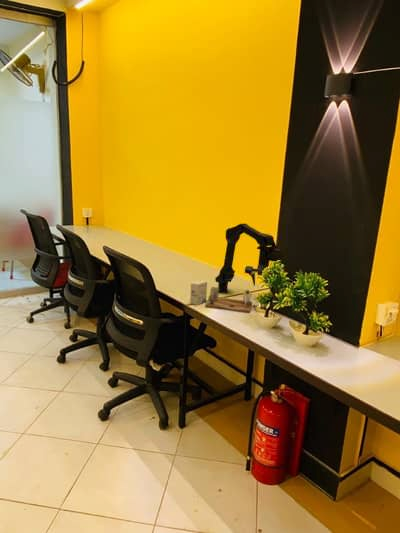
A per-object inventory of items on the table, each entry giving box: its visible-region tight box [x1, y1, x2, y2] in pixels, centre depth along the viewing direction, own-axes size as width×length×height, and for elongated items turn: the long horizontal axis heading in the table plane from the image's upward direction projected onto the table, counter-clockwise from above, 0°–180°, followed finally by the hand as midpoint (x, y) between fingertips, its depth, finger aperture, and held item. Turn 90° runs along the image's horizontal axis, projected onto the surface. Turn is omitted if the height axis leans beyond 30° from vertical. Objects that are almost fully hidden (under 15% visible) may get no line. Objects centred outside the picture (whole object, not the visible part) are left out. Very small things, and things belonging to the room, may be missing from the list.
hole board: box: [204, 295, 253, 314], centre depth 214 cm, size 13×24×3 cm, turn 78°
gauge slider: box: [242, 289, 252, 307], centre depth 212 cm, size 9×4×7 cm, turn 168°
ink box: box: [189, 279, 208, 306], centre depth 214 cm, size 9×5×12 cm, turn 141°
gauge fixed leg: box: [209, 286, 219, 303], centre depth 215 cm, size 9×4×6 cm, turn 168°
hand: (260, 286), depth 212 cm, fingers open, 7 cm apart
